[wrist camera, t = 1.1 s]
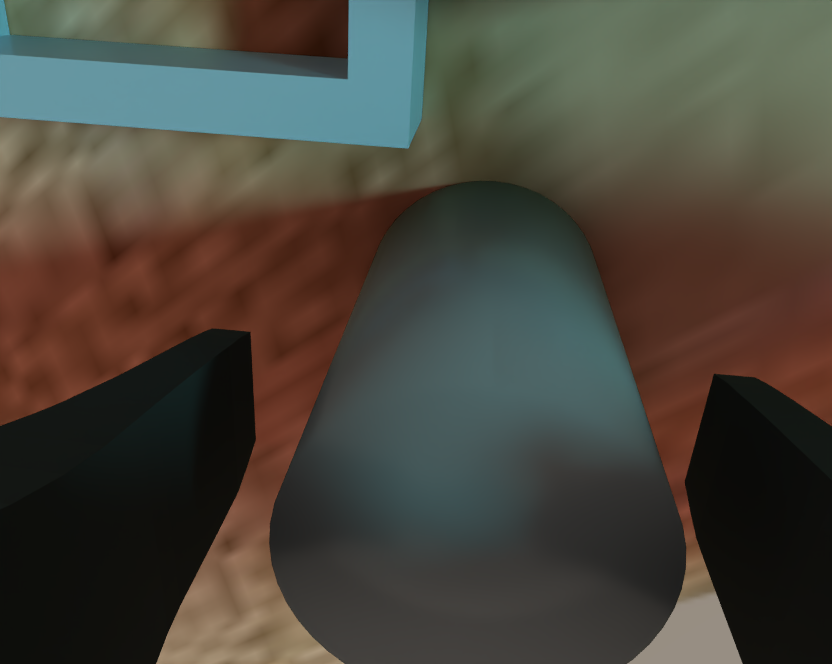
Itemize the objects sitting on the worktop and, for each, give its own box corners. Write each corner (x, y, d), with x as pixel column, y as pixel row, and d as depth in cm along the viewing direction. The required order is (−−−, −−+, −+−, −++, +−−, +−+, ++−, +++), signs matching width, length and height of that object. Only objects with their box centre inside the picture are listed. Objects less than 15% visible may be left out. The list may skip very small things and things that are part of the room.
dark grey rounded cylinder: (617, 191, 15) (733, 413, 7) (568, 461, 18) (618, 806, 10) (373, 171, 15) (260, 366, 8) (365, 441, 18) (278, 762, 11)
